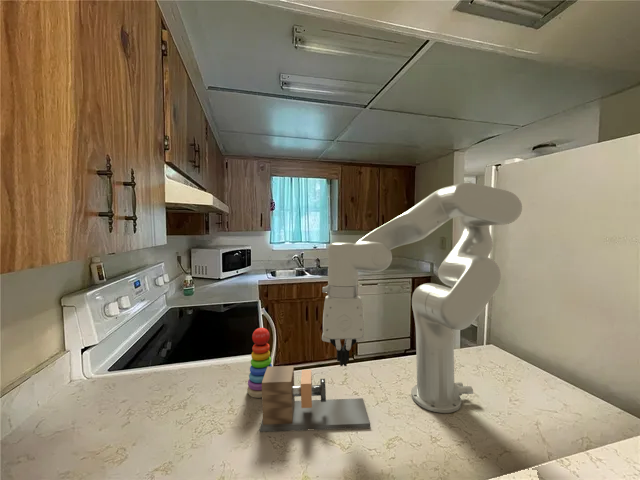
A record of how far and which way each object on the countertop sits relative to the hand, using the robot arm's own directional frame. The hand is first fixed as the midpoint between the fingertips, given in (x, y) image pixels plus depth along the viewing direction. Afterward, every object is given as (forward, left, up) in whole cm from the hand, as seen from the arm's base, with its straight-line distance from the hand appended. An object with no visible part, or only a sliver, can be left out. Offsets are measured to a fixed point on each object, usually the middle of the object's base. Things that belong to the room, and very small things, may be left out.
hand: (342, 363), depth 69 cm
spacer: (+9, 0, -9) cm, 13 cm away
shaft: (+12, 0, -9) cm, 16 cm away
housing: (+7, 0, -13) cm, 15 cm away
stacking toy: (+23, -12, -13) cm, 30 cm away
